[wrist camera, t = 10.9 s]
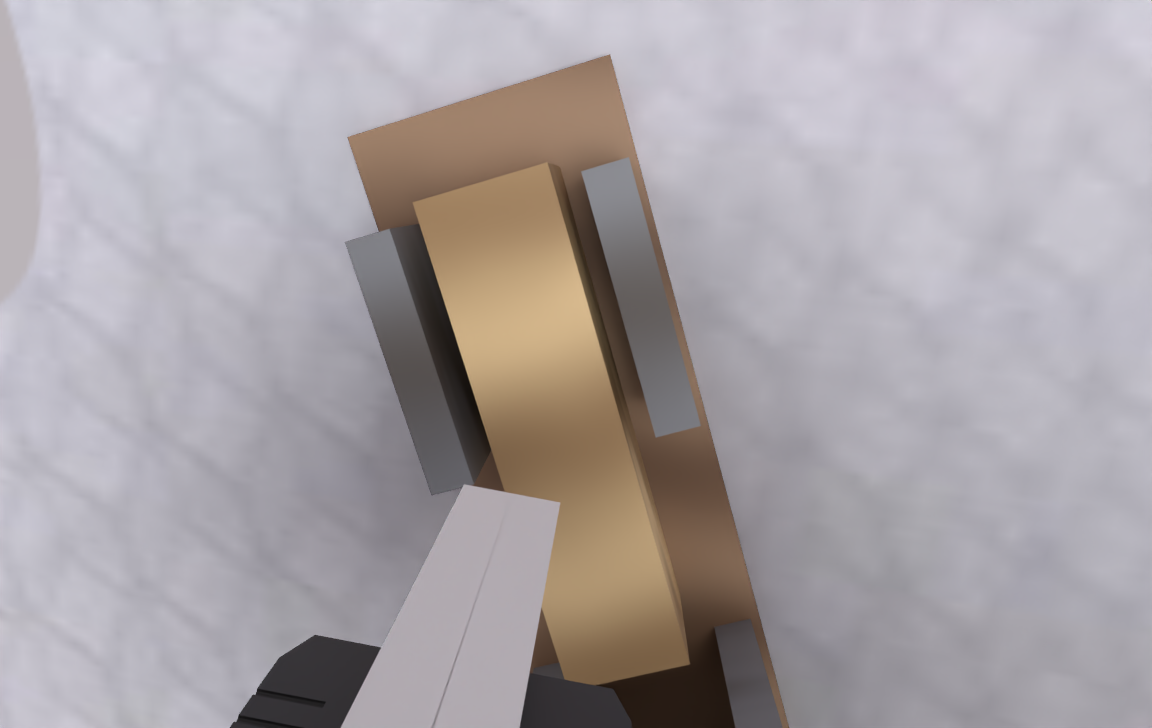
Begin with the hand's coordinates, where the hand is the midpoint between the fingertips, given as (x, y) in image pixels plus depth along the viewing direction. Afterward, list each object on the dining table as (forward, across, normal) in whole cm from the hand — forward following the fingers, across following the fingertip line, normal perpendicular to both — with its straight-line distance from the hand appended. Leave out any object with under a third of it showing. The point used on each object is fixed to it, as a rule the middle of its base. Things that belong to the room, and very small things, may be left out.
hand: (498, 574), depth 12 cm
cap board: (+13, -2, +3) cm, 14 cm away
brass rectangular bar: (+13, 0, +1) cm, 13 cm away
